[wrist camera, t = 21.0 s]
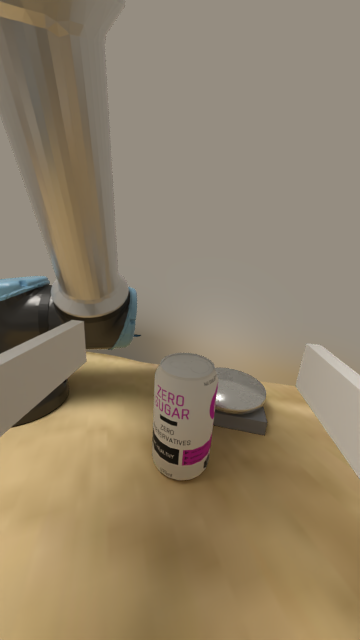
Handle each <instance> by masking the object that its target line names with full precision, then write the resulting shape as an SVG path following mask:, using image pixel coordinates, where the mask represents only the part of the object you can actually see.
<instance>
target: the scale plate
mask: <svg viewBox="0 0 360 640" xmlns="http://www.w3.org/2000/svg"><path fill="white" fill-rule="evenodd" d="M215 370H216V373H217V375H218V380H219V381H218V389H217V397H216V405H215V409H216V410H219V411H222V412H226V413H231V414H248V413H252V412H255V411H257V410H259V409H260V408H261V407H263V405H264V403H265V399H266V390H265V388H264V386H263V385H262V384H261V383H260V382H259V381H258V380H257V379H255V378H254V377H252V376H250V375H248V374H246V373H243V372H241V371H238V370H234V369H229V368H215Z"/></svg>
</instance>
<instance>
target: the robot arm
mask: <svg viewBox="0 0 360 640" xmlns="http://www.w3.org/2000/svg"><path fill="white" fill-rule="evenodd" d="M124 7H125V0H0V116H1V119H2V122H3V125H4V127H5V130H6V133H7V136H8V139H9V142H10V144H11V148H12V150H13V153H14V156H15V159H16V162H17V165H18V168H19V171H20V173H21V176H22V179H23V182H24V185H25V188H26V191H27V193H28V196H29V199H30V202H31V205H32V208H33V211H34V214H35V217H36V219H37V223H38V225H39V228H40V231H41V234H42V237H43V240H44V242H45V246H46V248H47V251H48V254H49V257H50V260H51V263H52V266H53V269H54V271H55V274H56V277H57V279H56V280H55V282H54V283H53V285H49V284H50V282H49V280H48V278H47V277H45V276H42V277H41V276H34V277H21V278H10V279H0V437H1V436H2V435H3V434H4V433H5V432H6V431H7V430H9V429H10V428H11V427H12V426H16V425H20V424H24V423H27V422H30V421H33V420H36V419H38V418H40V417H42V416H44V415H46V414H48V413H50V412H52V411H53V410H55V409H56V408H57V407H59V406H60V405H61V404H62V403H63V402H64V401H65V399H66V398H67V396H68V394H69V385H68V379H67V378H68V377H69V376H70V375H71V374H73V373H74V372H75V371H76V370H77V369H78V368H79V367H81V366H82V365H83V364H84V363H85V362H86V349H108V350H112V349H114V348H125V347H127V346H129V345H130V343H131V342H132V339H133V336H134V330H135V320H136V313H137V293H136V290H135V289H133V288H130V287H128V284H127V282H126V280H125V278H124V277H123V276H122V275H121V274H120V273H118V260H117V244H116V226H115V210H114V193H113V176H112V162H111V144H110V128H109V111H108V110H109V109H108V93H107V76H106V60H105V40H106V34H107V32H108V31H109V30H110V28H111V27H112V25H113V23H114V22H115V21H116V19H117V18H118V16H119V14H120V13H121V11H122V10H123V9H124ZM296 388H297V389H298V391H299V392H300V393H301V395H302V396H303V398H304V399H305V401H306V402H307V404H308V405H309V407H310V408H311V409H312V411H313V412H314V414H315V415H316V417H317V418H318V420H319V421H320V422H321V424H322V425H323V427H324V428H325V430H326V431H327V433H328V434H329V436H330V437H331V438H332V440H333V441H334V443H335V444H336V446H337V447H338V449H339V450H340V451H341V453H342V454H343V456H344V457H345V459H346V460H347V462H348V463H349V465H350V466H351V467H352V469H353V470H354V472H355V473H356V475H357V476H358V478H359V479H360V375H359V374H358V373H356V372H355V371H353V370H352V369H351V368H350V367H348V366H347V365H346V364H344V363H343V362H342V361H341V360H339V359H338V358H337V357H335V356H334V355H333V354H332V353H330V352H329V351H328V350H326V349H325V348H324V347H322V346H321V345H316V344H306V346H305V351H304V354H303V358H302V362H301V366H300V370H299V374H298V378H297V382H296Z"/></svg>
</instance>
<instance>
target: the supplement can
mask: <svg viewBox="0 0 360 640" xmlns="http://www.w3.org/2000/svg"><path fill="white" fill-rule="evenodd" d="M218 381H219V380H218V375H217V373H216V370H215V367H214V364H213V363H212V362H211V360H209V359H207V358H206V357H204V356H200V355H197V354H192V353H175V354H171V355H168V356H166V357H164V358H163V359H162V360H161V363H160V365H159V366H158V368H157V370H156V373H155V385H154V414H153V443H152V456H153V461H154V464H155V465H156V467H157V468H158V470H159V471H160V472H161V473H163V474H164V475H165V476H167V477H169V478H172V479H176V480H190V479H192V478H194V477H197V476H199V475H200V474H201V473H202V472H203V471H204V470H205V469H206V467H207V464H208V461H209V455H210V446H211V438H212V430H213V422H214V413H215V405H216V397H217V389H218Z"/></svg>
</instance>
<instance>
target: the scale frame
mask: <svg viewBox="0 0 360 640" xmlns="http://www.w3.org/2000/svg"><path fill="white" fill-rule="evenodd" d="M213 425H214V426H219V427H225V428H230V429H235V430H240V431H245V432H250V433H255V434H260V435H265V432H266V427H267V419H266V416H265V412H264V408H263V407H261V408H260V409H259V410H257V411H255V412H252V413H248V414H231V413H226V412H222V411H219V410H216V409H215V413H214V422H213Z"/></svg>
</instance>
